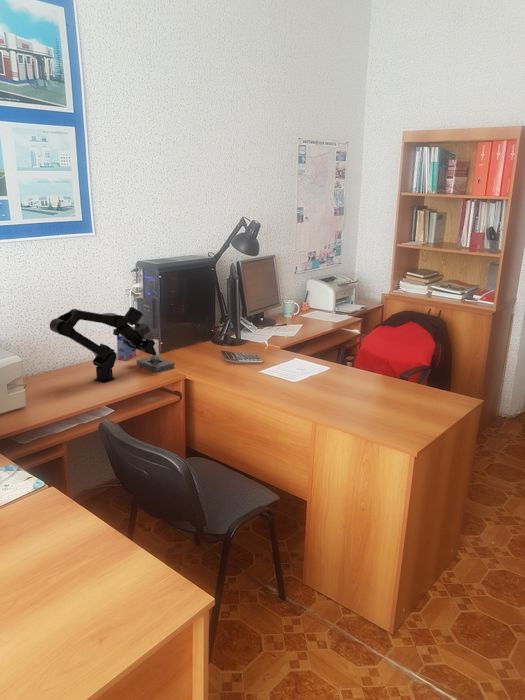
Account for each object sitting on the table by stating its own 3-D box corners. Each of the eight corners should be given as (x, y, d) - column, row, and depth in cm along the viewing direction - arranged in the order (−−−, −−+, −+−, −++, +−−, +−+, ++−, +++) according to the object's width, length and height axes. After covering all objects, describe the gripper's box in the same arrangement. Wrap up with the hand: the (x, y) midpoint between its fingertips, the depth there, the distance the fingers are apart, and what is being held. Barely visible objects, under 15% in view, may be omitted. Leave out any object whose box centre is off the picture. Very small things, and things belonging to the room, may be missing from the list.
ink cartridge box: (127, 360, 271) (125, 332, 267) (117, 359, 273) (115, 331, 269) (137, 355, 280) (135, 327, 276) (127, 354, 282) (126, 326, 278)
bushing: (155, 368, 261) (154, 341, 257) (149, 367, 263) (148, 340, 259) (161, 366, 264) (160, 339, 261) (154, 364, 266) (153, 338, 262)
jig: (156, 372, 255) (156, 367, 254) (136, 364, 265) (136, 359, 265) (174, 368, 262) (174, 363, 261) (154, 360, 272) (154, 355, 272)
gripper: (151, 322, 245) (171, 342, 256) (127, 315, 258) (148, 335, 268) (136, 343, 242) (158, 362, 253) (113, 334, 254) (134, 353, 265)
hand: (149, 352), depth 260 cm, fingers open, 9 cm apart
